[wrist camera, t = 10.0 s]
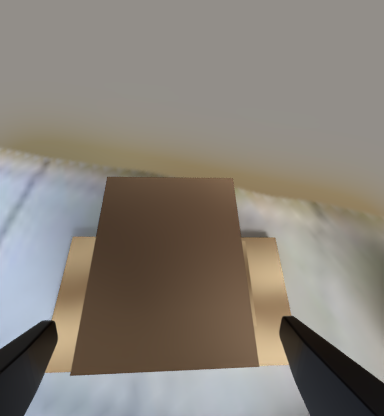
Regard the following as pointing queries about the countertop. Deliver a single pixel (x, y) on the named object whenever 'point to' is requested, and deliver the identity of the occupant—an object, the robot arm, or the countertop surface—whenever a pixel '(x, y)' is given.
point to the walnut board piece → (166, 280)
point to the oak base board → (257, 284)
